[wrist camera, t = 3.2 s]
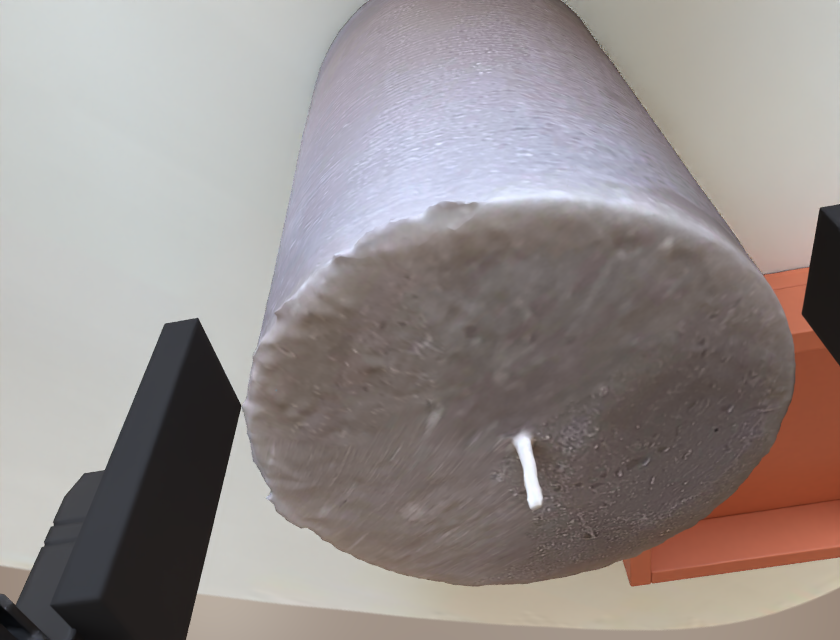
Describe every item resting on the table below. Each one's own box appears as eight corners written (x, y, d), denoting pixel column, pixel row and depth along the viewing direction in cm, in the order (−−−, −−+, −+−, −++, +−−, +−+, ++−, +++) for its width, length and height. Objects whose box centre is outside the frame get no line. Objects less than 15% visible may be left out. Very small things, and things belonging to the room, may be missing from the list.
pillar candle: (650, 163, 24) (897, 540, 13) (410, 291, 27) (430, 694, 16) (521, -116, 19) (742, 87, 7) (241, 80, 22) (81, 446, 10)
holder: (612, 526, 37) (630, 587, 35) (602, 302, 28) (626, 361, 25) (910, 482, 36) (954, 542, 33) (1003, 232, 27) (1074, 286, 24)
